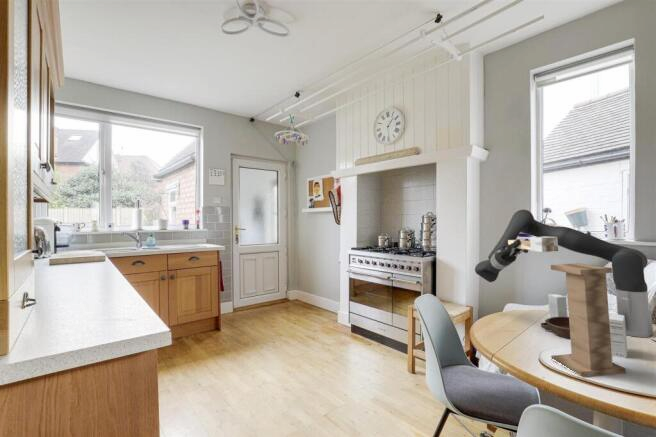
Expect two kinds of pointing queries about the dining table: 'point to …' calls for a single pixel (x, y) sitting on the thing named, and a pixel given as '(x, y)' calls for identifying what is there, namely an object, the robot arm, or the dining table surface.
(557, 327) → the dish
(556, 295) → the skincare box
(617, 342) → the supplement box
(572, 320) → the wooden i-beam column
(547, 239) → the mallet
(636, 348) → the dining table surface
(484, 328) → the dining table surface
